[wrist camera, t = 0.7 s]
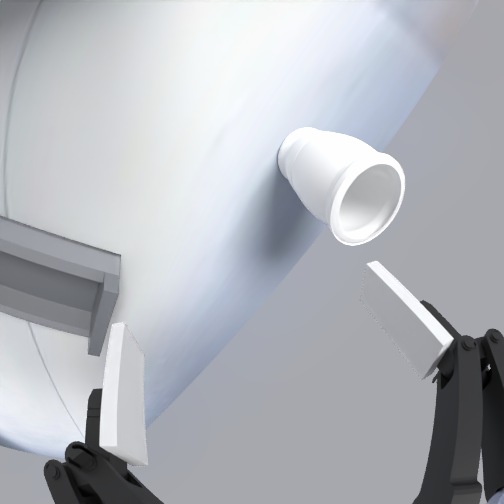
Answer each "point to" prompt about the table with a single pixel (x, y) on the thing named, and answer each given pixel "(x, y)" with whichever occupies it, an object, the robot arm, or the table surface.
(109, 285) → the grey open tray
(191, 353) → the table surface
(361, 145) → the jar
